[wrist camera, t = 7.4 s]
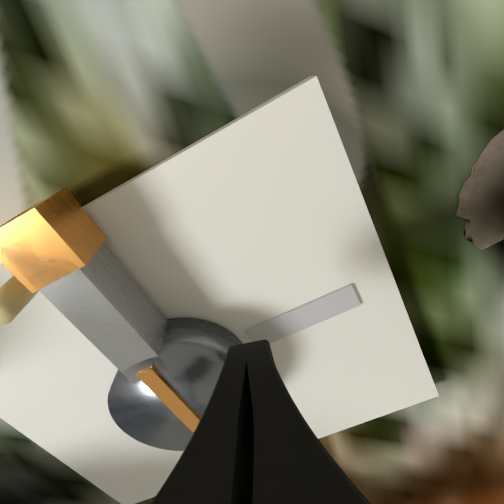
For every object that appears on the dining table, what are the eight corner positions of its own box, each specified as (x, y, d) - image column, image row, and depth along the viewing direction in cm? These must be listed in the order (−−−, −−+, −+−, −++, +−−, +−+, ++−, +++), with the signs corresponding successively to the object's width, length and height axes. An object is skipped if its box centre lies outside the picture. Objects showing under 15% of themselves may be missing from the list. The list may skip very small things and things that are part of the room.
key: (271, 382, 20) (276, 426, 17) (170, 422, 21) (161, 468, 19) (111, 160, 13) (83, 178, 11) (-19, 236, 15) (-70, 268, 12)
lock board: (430, 382, 22) (468, 442, 18) (129, 492, 26) (112, 557, 23) (310, 75, 13) (338, 76, 10) (-108, 315, 18) (-194, 375, 14)
